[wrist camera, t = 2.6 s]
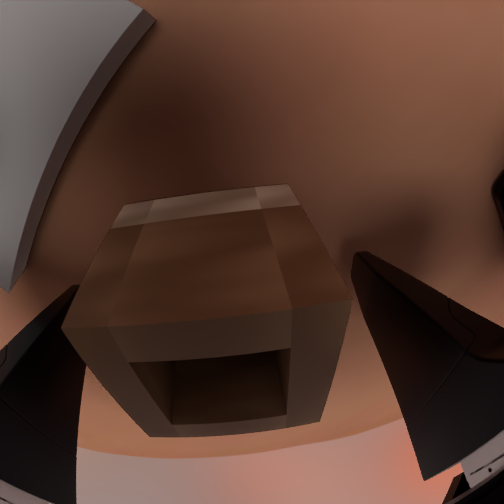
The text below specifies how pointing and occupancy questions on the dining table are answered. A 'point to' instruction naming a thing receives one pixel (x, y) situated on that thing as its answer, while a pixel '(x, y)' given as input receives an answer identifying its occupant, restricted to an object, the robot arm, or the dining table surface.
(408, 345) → the robot arm
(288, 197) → the sleeve
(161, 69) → the dining table surface
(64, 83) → the pin board
